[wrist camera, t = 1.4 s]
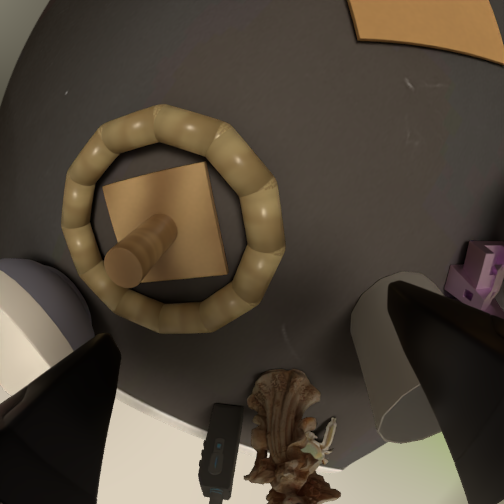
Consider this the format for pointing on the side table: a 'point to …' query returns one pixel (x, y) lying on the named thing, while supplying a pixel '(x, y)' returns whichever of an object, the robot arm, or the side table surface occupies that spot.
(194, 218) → the ring toss peg
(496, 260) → the purple jagged faceted chunk
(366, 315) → the cup
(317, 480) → the figurine
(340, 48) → the side table surface
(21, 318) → the bowl
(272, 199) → the segmented tan ring
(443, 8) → the mat
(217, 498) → the walkie-talkie
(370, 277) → the side table surface
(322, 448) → the decorative insect model
